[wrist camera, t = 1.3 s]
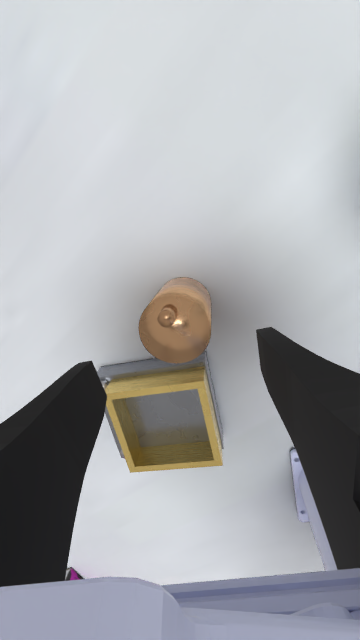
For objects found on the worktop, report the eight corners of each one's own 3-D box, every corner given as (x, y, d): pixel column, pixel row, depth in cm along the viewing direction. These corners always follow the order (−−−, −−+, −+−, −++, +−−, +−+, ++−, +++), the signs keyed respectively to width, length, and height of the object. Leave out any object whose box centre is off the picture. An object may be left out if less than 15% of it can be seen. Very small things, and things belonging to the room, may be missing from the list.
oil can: (215, 325, 23) (217, 368, 16) (163, 333, 24) (143, 379, 17) (205, 272, 22) (202, 295, 15) (150, 283, 23) (123, 310, 16)
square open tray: (222, 432, 27) (224, 469, 23) (127, 442, 29) (113, 477, 25) (205, 350, 24) (204, 376, 20) (101, 366, 26) (81, 392, 22)
